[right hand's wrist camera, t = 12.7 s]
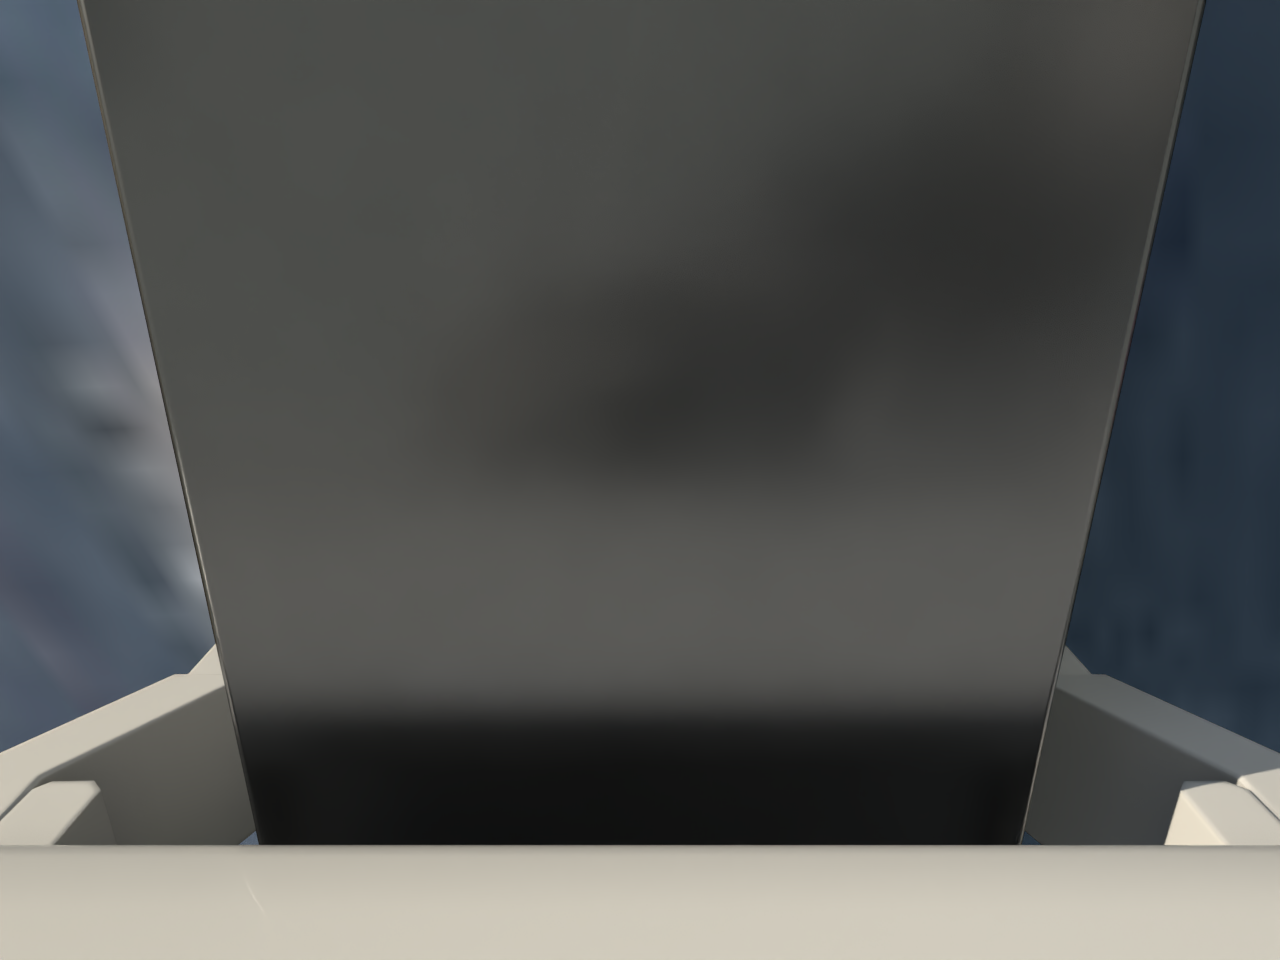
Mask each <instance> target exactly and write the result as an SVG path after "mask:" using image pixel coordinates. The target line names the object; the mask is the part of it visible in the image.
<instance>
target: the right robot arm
mask: <svg viewBox="0 0 1280 960" xmlns="http://www.w3.org/2000/svg"><path fill="white" fill-rule="evenodd" d="M255 831H256V828H255V824H254V819H253V814H252V810H251V805H250V801H249V796H248V791H247V787H246V782H245V777H244V773H243V768H242V764H241V759H240V754H239V750H238V745H237V740H236V736H235V731H234V726H233V722H232V717H231V713H230V708H229V703H228V699H227V694H226V689H225V685H224V680H223V676H222V671H221V666H220V662H219V657H218V652H217V648H216V644H215V645H214V646H213V647H212V648H211V649H210V650H209V652H208V653H207V654H206V655H205V656H204V657H203V658H202V659H201V660H200V662H199V663H198V664H197V665H196V666H195V667H194V668H193V669H192V670H191V672H190V673H189V674H174V675H172V676H170V677H168V678H166V679H163V680H161V681H159V682H157V683H154V684H152V685H150V686H148V687H146V688H143V689H141V690H139V691H137V692H135V693H132V694H130V695H128V696H126V697H123V698H121V699H119V700H117V701H115V702H112V703H110V704H108V705H106V706H103V707H101V708H99V709H97V710H95V711H92V712H90V713H88V714H86V715H83V716H81V717H79V718H77V719H75V720H72V721H70V722H68V723H66V724H64V725H61V726H59V727H57V728H55V729H52V730H50V731H48V732H46V733H44V734H41V735H39V736H37V737H35V738H32V739H30V740H28V741H26V742H24V743H21V744H19V745H17V746H15V747H12V748H10V749H8V750H6V751H4V752H1V753H0V960H1280V753H1278V752H1276V751H1274V750H1271V749H1269V748H1267V747H1265V746H1262V745H1260V744H1258V743H1256V742H1254V741H1251V740H1249V739H1247V738H1245V737H1243V736H1240V735H1238V734H1236V733H1234V732H1232V731H1229V730H1227V729H1225V728H1223V727H1220V726H1218V725H1216V724H1214V723H1212V722H1209V721H1207V720H1205V719H1203V718H1201V717H1198V716H1196V715H1194V714H1192V713H1189V712H1187V711H1185V710H1183V709H1181V708H1178V707H1176V706H1174V705H1172V704H1170V703H1167V702H1165V701H1163V700H1161V699H1159V698H1156V697H1154V696H1152V695H1150V694H1147V693H1145V692H1143V691H1141V690H1139V689H1136V688H1134V687H1132V686H1130V685H1128V684H1125V683H1123V682H1121V681H1119V680H1117V679H1114V678H1112V677H1110V676H1108V675H1105V674H1091V673H1090V672H1089V671H1088V670H1087V668H1086V667H1085V666H1084V665H1083V664H1082V663H1081V662H1080V661H1079V660H1078V658H1077V657H1076V656H1075V655H1074V654H1073V653H1072V652H1071V651H1070V650H1069V648H1068V647H1067V646H1066V645H1065V648H1064V653H1063V657H1062V662H1061V666H1060V671H1059V675H1058V680H1057V685H1056V689H1055V694H1054V698H1053V703H1052V707H1051V712H1050V717H1049V721H1048V726H1047V730H1046V735H1045V739H1044V744H1043V749H1042V753H1041V758H1040V762H1039V767H1038V771H1037V776H1036V780H1035V785H1034V790H1033V794H1032V799H1031V803H1030V808H1029V812H1028V817H1027V822H1026V826H1025V831H1026V832H1027V833H1028V834H1029V835H1031V836H1032V837H1033V838H1034V839H1035V840H1037V841H1038V842H1039V843H1040V844H1042V845H239V844H240V843H241V842H242V841H244V840H245V839H246V838H247V837H248V836H250V835H251V834H252V833H253V832H255Z"/></svg>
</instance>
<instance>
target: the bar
mask: <svg viewBox="0 0 1280 960" xmlns="http://www.w3.org/2000/svg"><path fill="white" fill-rule="evenodd" d="M77 4H78V8H79V13H80V18H81V22H82V27H83V32H84V36H85V41H86V45H87V50H88V55H89V59H90V64H91V69H92V73H93V78H94V82H95V87H96V92H97V96H98V101H99V106H100V110H101V115H102V120H103V124H104V129H105V133H106V138H107V143H108V147H109V152H110V157H111V161H112V166H113V171H114V175H115V180H116V184H117V189H118V194H119V198H120V203H121V208H122V212H123V217H124V221H125V226H126V231H127V235H128V240H129V245H130V249H131V254H132V259H133V263H134V268H135V272H136V277H137V282H138V286H139V291H140V296H141V300H142V305H143V309H144V314H145V319H146V323H147V328H148V333H149V337H150V342H151V347H152V351H153V356H154V360H155V365H156V370H157V374H158V379H159V384H160V388H161V393H162V398H163V402H164V407H165V411H166V416H167V421H168V425H169V430H170V435H171V439H172V444H173V448H174V453H175V458H176V462H177V467H178V472H179V476H180V481H181V486H182V490H183V495H184V499H185V504H186V509H187V513H188V518H189V523H190V527H191V532H192V537H193V541H194V546H195V550H196V555H197V560H198V564H199V569H200V574H201V578H202V583H203V587H204V592H205V597H206V601H207V606H208V611H209V615H210V620H211V625H212V629H213V634H214V638H215V643H216V648H217V652H218V657H219V662H220V666H221V671H222V676H223V680H224V685H225V689H226V694H227V699H228V703H229V708H230V713H231V717H232V722H233V726H234V731H235V736H236V740H237V745H238V750H239V754H240V759H241V764H242V768H243V773H244V777H245V782H246V787H247V791H248V796H249V801H250V805H251V810H252V814H253V819H254V824H255V828H256V833H257V838H258V842H259V845H1021V844H1022V840H1023V835H1024V831H1025V826H1026V822H1027V817H1028V812H1029V808H1030V803H1031V799H1032V794H1033V790H1034V785H1035V780H1036V776H1037V771H1038V767H1039V762H1040V758H1041V753H1042V749H1043V744H1044V739H1045V735H1046V730H1047V726H1048V721H1049V717H1050V712H1051V707H1052V703H1053V698H1054V694H1055V689H1056V685H1057V680H1058V675H1059V671H1060V666H1061V662H1062V657H1063V653H1064V648H1065V643H1066V639H1067V634H1068V630H1069V625H1070V621H1071V616H1072V611H1073V607H1074V602H1075V598H1076V593H1077V589H1078V584H1079V579H1080V575H1081V570H1082V566H1083V561H1084V557H1085V552H1086V547H1087V543H1088V538H1089V534H1090V529H1091V525H1092V520H1093V515H1094V511H1095V506H1096V502H1097V497H1098V493H1099V488H1100V484H1101V479H1102V474H1103V470H1104V465H1105V461H1106V456H1107V452H1108V447H1109V442H1110V438H1111V433H1112V429H1113V424H1114V420H1115V415H1116V410H1117V406H1118V401H1119V397H1120V392H1121V388H1122V383H1123V378H1124V374H1125V369H1126V365H1127V360H1128V356H1129V351H1130V346H1131V342H1132V337H1133V333H1134V328H1135V324H1136V319H1137V314H1138V310H1139V305H1140V301H1141V296H1142V292H1143V287H1144V282H1145V278H1146V273H1147V269H1148V264H1149V260H1150V255H1151V250H1152V246H1153V241H1154V237H1155V232H1156V228H1157V223H1158V219H1159V214H1160V209H1161V205H1162V200H1163V196H1164V191H1165V187H1166V182H1167V177H1168V173H1169V168H1170V164H1171V159H1172V155H1173V150H1174V145H1175V141H1176V136H1177V132H1178V127H1179V123H1180V118H1181V113H1182V109H1183V104H1184V100H1185V95H1186V91H1187V86H1188V81H1189V77H1190V72H1191V68H1192V63H1193V59H1194V54H1195V49H1196V45H1197V40H1198V36H1199V31H1200V27H1201V22H1202V17H1203V13H1204V8H1205V4H1206V0H77Z"/></svg>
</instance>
